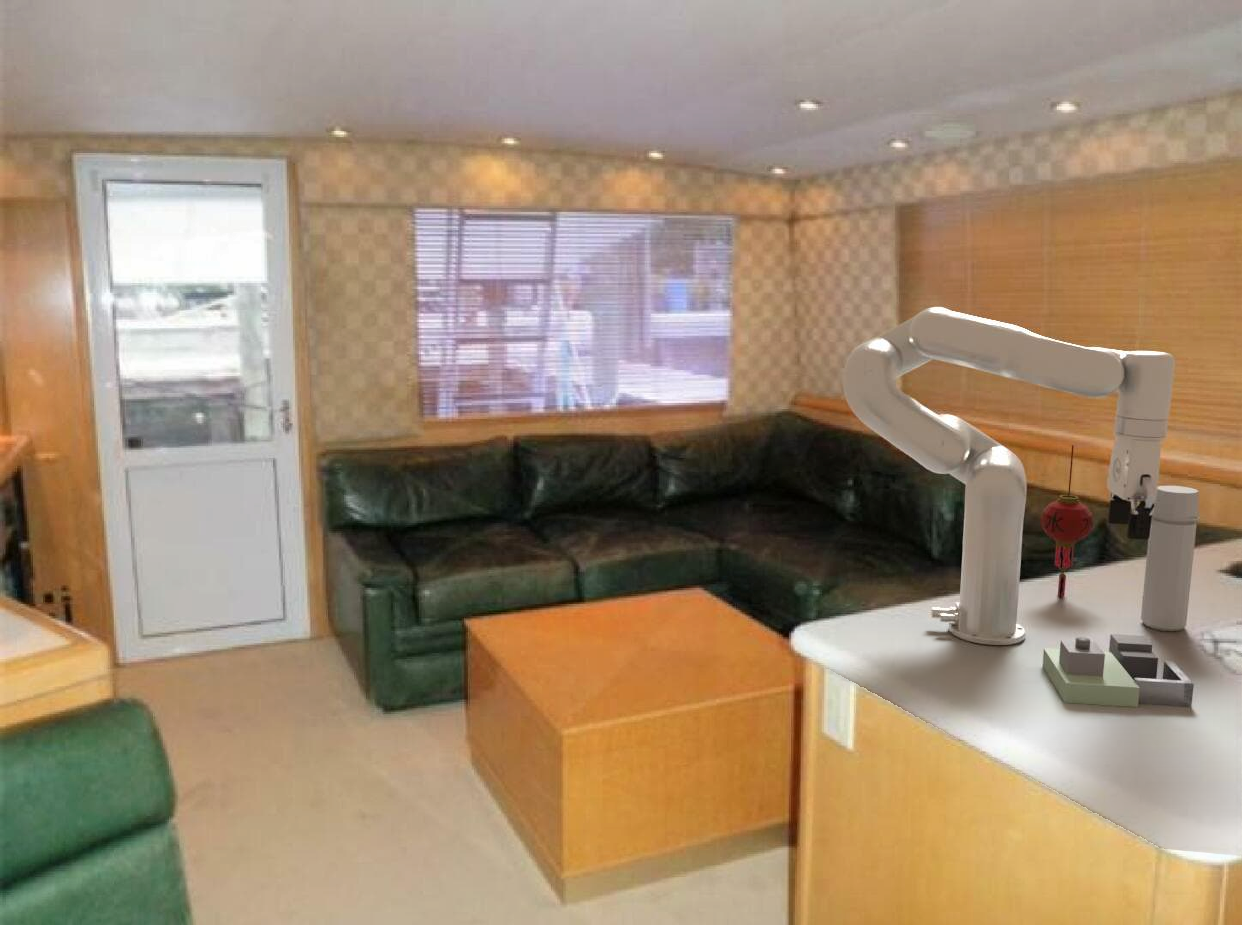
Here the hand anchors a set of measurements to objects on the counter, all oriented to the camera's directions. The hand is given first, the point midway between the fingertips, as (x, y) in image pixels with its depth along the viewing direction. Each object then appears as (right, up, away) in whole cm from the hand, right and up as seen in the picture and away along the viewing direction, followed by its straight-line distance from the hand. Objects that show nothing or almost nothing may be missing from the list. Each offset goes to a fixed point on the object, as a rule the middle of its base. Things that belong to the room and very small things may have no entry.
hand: (1127, 530), depth 163 cm
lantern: (+3, -15, +31) cm, 35 cm away
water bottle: (+14, -18, +15) cm, 27 cm away
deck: (-12, -23, -11) cm, 28 cm away
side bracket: (-4, -23, -14) cm, 28 cm away
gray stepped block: (-3, -22, -6) cm, 23 cm away
